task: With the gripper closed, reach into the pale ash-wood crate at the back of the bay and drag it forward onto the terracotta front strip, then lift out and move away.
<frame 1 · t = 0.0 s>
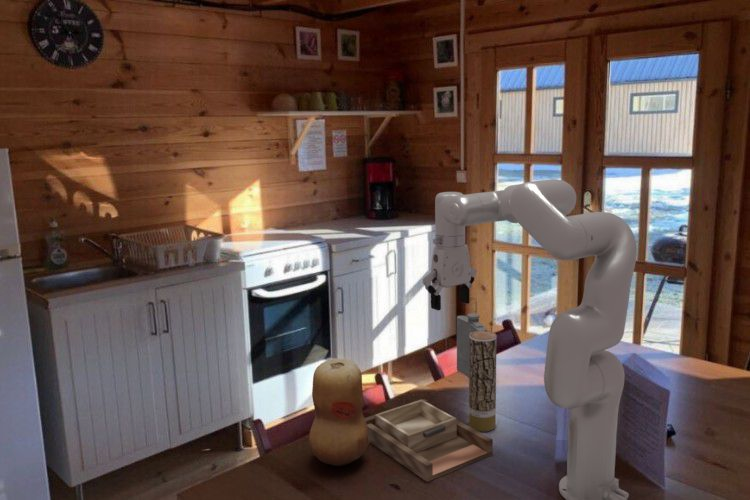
hand: (450, 305, 170), 31 cm above the table, tool pointing down, fingers open, 9 cm apart
butternut squash: (340, 462, 155), on the table
bay: (425, 445, 162), on the table
wooden log: (482, 427, 171), on the table
crate: (416, 426, 164), point 4 cm above the table, slide at 0.0 cm
hip flask: (472, 377, 204), on the table
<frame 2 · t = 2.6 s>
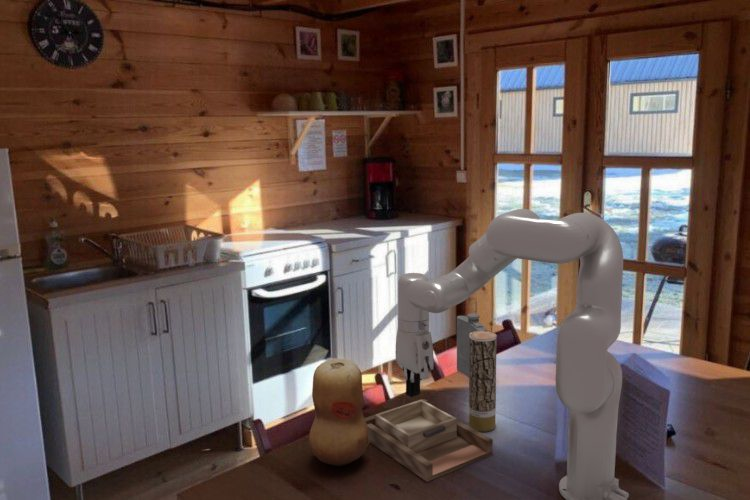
hand: (413, 394, 163), 12 cm above the table, tool pointing down, fingers closed
nothing on the table moved.
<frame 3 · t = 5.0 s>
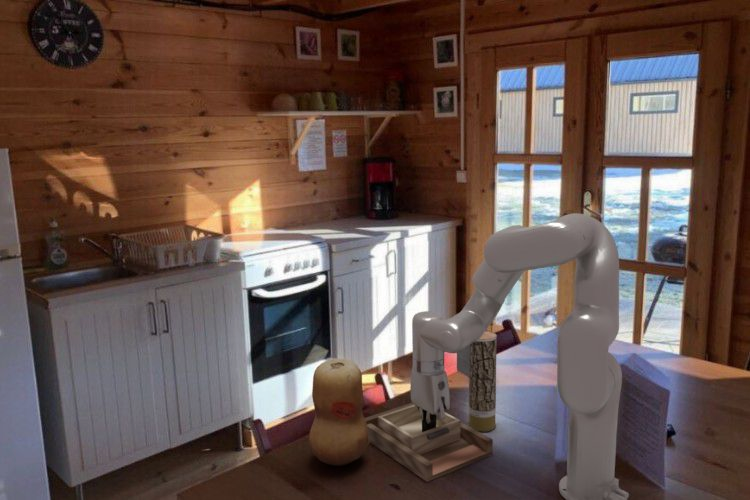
hand: (429, 434, 160), 4 cm above the table, tool pointing down, fingers closed
crate: (420, 428, 163), point 4 cm above the table, slide at 1.4 cm, touching gripper
everything else where it was.
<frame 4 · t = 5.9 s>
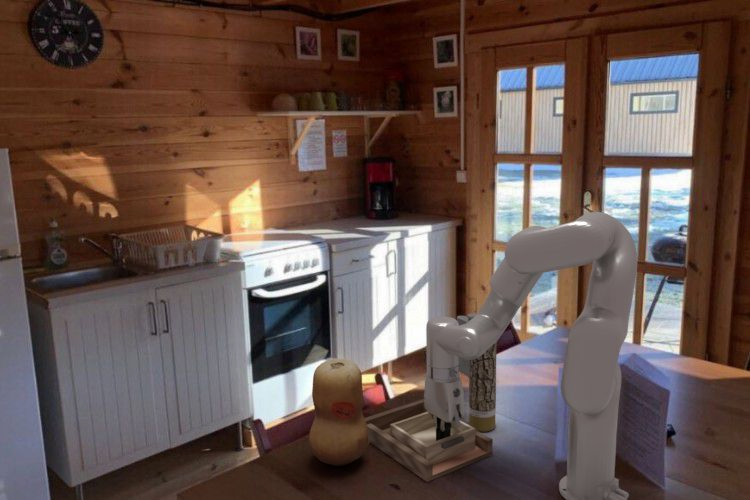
hand: (443, 443, 156), 4 cm above the table, tool pointing down, fingers closed
crate: (433, 436, 158), point 4 cm above the table, slide at 6.7 cm, touching gripper
everything else where it was.
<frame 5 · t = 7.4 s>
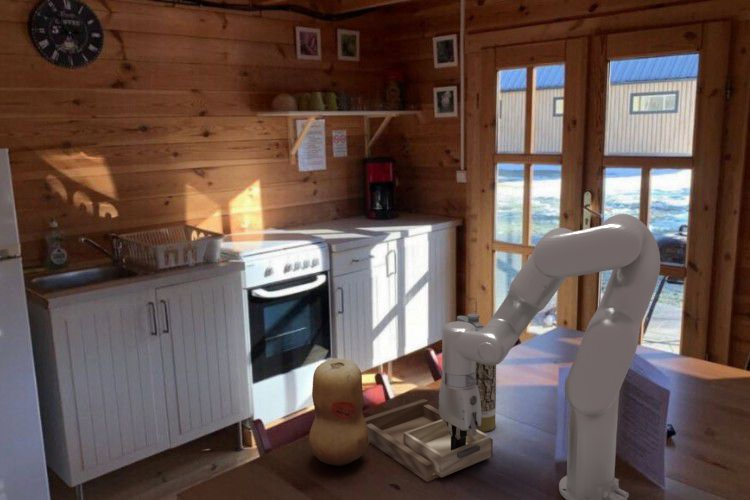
hand: (458, 451, 151), 4 cm above the table, tool pointing down, fingers closed
crate: (448, 445, 154), point 4 cm above the table, slide at 12.1 cm, touching gripper
everything else where it was.
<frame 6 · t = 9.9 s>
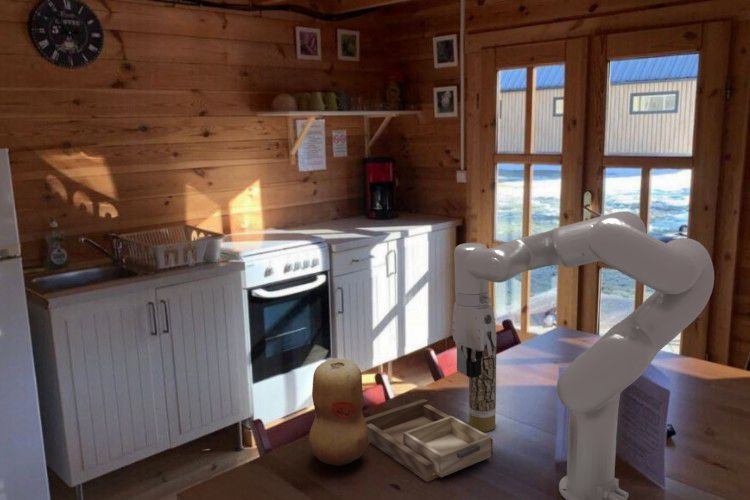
hand: (473, 375, 151), 21 cm above the table, tool pointing down, fingers closed
crate: (448, 445, 154), point 4 cm above the table, slide at 12.0 cm
everything else where it was.
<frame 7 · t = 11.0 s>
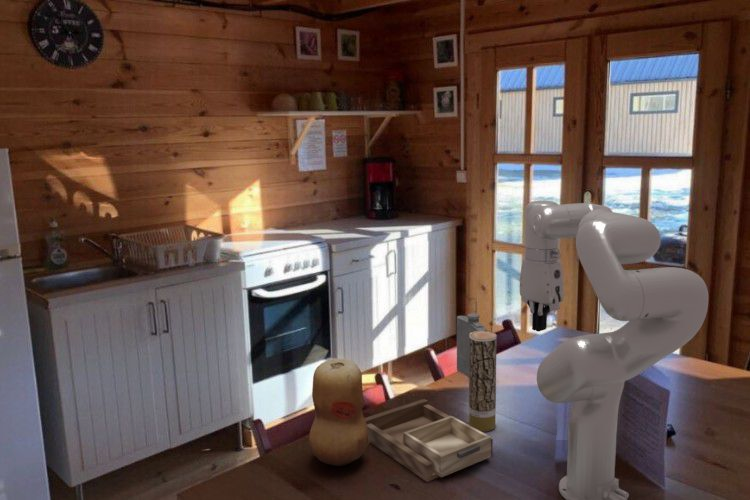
hand: (539, 329, 156), 29 cm above the table, tool pointing down, fingers closed
nothing on the table moved.
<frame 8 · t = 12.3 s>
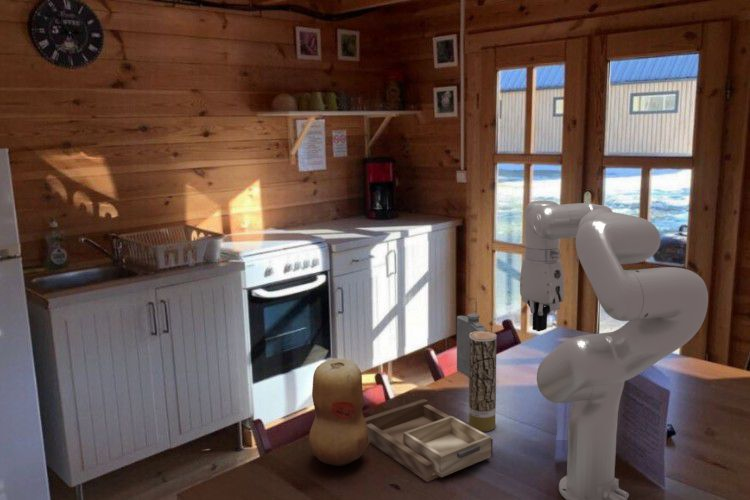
hand: (539, 329, 156), 29 cm above the table, tool pointing down, fingers closed
nothing on the table moved.
at the end: crate slide at 12.0 cm; wooden log moved 0.2 cm from its start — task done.
